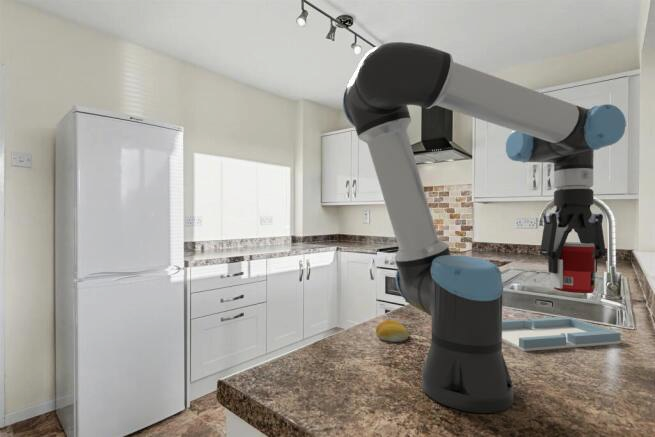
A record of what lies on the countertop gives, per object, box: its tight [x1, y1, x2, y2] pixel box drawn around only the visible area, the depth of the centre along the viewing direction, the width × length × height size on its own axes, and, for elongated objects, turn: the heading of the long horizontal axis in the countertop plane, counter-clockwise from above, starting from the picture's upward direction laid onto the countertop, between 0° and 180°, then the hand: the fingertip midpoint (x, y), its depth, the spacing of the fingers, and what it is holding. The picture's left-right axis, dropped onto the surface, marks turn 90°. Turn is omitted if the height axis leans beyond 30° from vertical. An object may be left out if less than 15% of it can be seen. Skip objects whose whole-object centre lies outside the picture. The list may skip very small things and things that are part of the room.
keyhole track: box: [502, 316, 622, 352], centre depth 91 cm, size 28×15×3 cm, turn 101°
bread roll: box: [375, 319, 410, 343], centre depth 91 cm, size 8×9×4 cm
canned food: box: [553, 241, 596, 294], centre depth 81 cm, size 8×8×11 cm
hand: (572, 286), depth 81 cm, fingers closed on canned food, 8 cm apart
